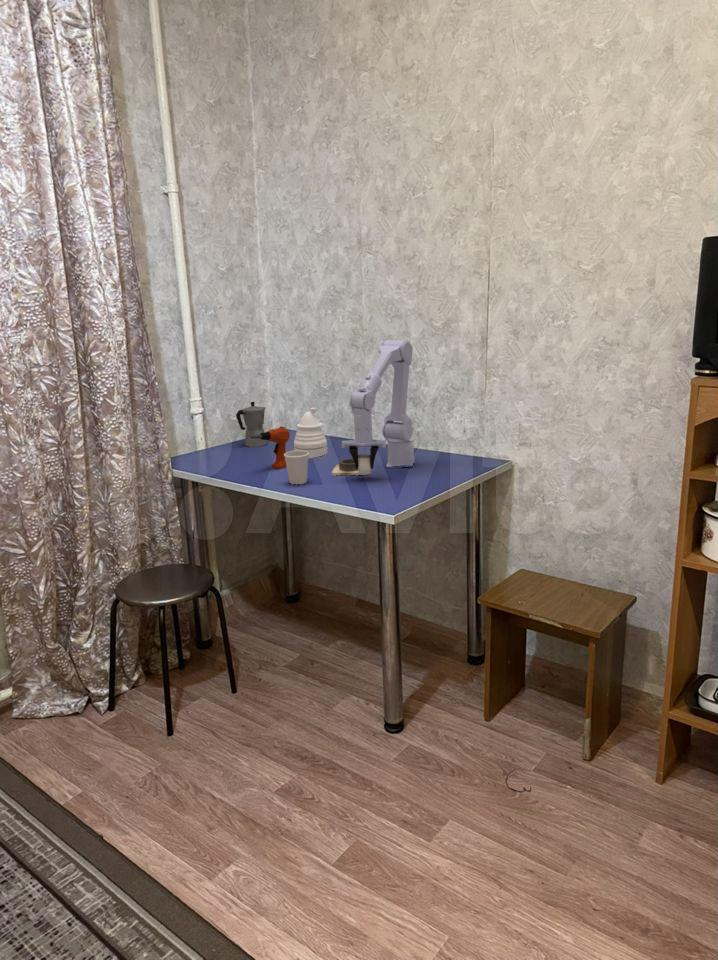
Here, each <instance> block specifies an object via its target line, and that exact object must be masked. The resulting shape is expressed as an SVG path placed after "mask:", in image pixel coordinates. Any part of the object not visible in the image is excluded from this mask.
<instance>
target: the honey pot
mask: <svg viewBox="0 0 718 960" xmlns="http://www.w3.org/2000/svg"><path fill="white" fill-rule="evenodd" d="M309 410H310V411H307V412H305V413H304V414H303V415H302V417H301V419H300V421H299V423H298V424H296V427H297V429H296V432H295V438H294V440H293V451H297V450H301V451H307V452H309V455H308V459H314V458H313V457H318V456H322V455H324V454H326V453H327V454H328V443H327V442H328V440H327V438H326V435H325V434H324V433H325V432H324V431H323V428H322V427H323V426H324V424H323V422H320V421H319V420H318V418H317V416H316V415H315V414H316V413H317V411H318V408H317V407H310V408H309ZM318 458H319V457H318Z"/></svg>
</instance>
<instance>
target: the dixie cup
mask: <svg viewBox="0 0 718 960" xmlns="http://www.w3.org/2000/svg"><path fill="white" fill-rule="evenodd" d="M308 455H309V452H307V451H301V450H297V451H294V450H290V451H286V453H285V454H284V456H285V461H286V466H287V467H286V471H287V476H288V480H289V481H288V482H289V484H290V483H291V484H290V485H293V484H296V485H295V486H297V484H300V485H304V483H305V484H306V483H307V482H308V471H309V470H308V467H309V458H308Z"/></svg>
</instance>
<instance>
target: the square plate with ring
mask: <svg viewBox="0 0 718 960" xmlns="http://www.w3.org/2000/svg"><path fill="white" fill-rule="evenodd" d="M334 466H335V467H333V469H332V471H331V472H330V473H331V476H333V477H334V476H335V477H336V475H338V476H339V475H343V476H344V477H347V476H350V475H356V476H355V477H357V476H358V475H362V474H359V473H358V469H356V466H355V463H354V460H353V458H345V459H344V458H343V459H341V460H339V461H338V463H336V465H334ZM338 476H337V477H338ZM343 476H342V477H343ZM339 477H340V476H339ZM350 477H351V476H350Z"/></svg>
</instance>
